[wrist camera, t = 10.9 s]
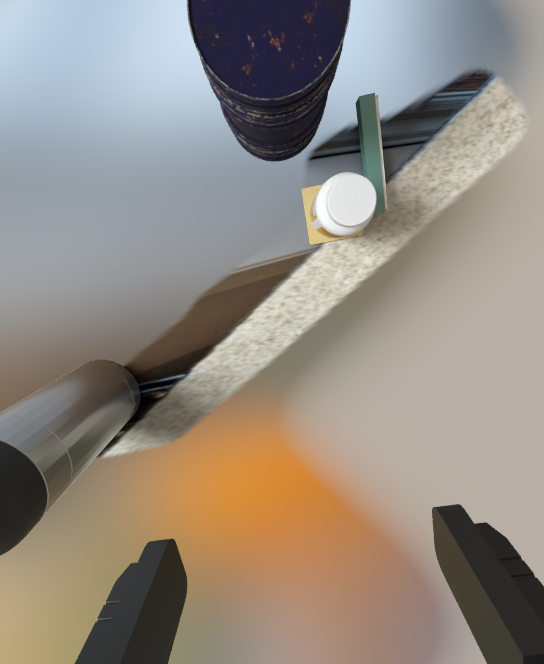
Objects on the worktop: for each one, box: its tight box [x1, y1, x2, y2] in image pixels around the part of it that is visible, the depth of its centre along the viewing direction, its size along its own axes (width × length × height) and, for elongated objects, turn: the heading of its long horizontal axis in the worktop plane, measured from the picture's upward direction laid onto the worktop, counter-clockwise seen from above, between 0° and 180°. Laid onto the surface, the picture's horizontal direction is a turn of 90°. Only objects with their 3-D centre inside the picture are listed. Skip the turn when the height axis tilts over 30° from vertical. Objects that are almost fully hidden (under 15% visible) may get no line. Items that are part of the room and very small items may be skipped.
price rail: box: [356, 93, 388, 214], centre depth 33 cm, size 2×11×2 cm, turn 11°
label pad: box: [302, 185, 363, 245], centre depth 36 cm, size 6×6×1 cm
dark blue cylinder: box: [187, 0, 351, 161], centre depth 26 cm, size 10×10×15 cm
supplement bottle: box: [310, 172, 377, 238], centre depth 31 cm, size 5×5×10 cm
